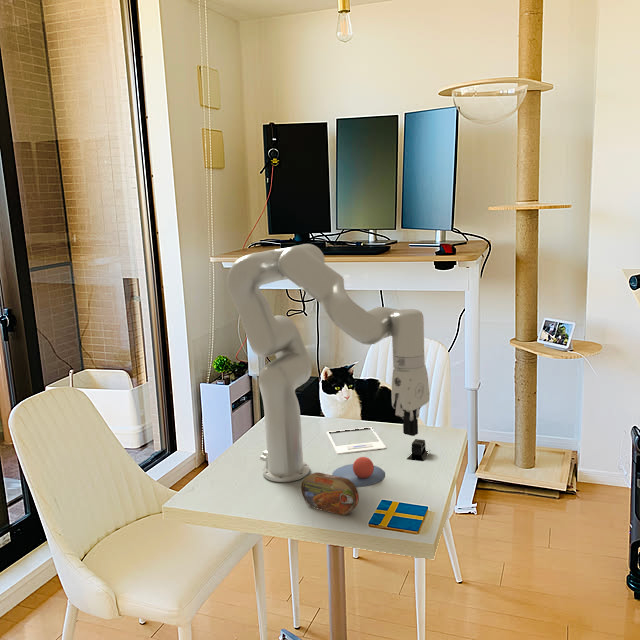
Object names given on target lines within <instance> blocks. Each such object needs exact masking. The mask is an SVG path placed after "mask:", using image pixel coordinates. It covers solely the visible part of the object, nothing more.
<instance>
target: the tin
mask: <svg viewBox="0 0 640 640" xmlns="http://www.w3.org/2000/svg"><path fill="white" fill-rule="evenodd" d="M302 479H303V480H302V482H301V484H300V487H301V488H300V489H301V491H300V492H301V494H302V497H303V500H304V501H305V502H306V503H307V505H309V506H310V507H311V508H313V507H315V508H314V509H316V508H318V509H317V510H320V509H322V510H321V511H324V510H325V512H328V511H329V513H332V514H337V515H339V516H340V515H341V516H345V515H346V516H347V515H349V514H350V513H351V512H352V511H353V510H355V509H356V508H357V506H358V504H359V498H360V497H359V490H358V488H357V487H356V486H355V485H354V484H353V483H352V482H351V481H350V480H348V479H346V478H343V477H338V476H333V475H332V474H328V473H323V472H319V471H318V472H314V473H311V474H307V475H306V476H305V477H303V478H302ZM312 506H313V507H312Z"/></svg>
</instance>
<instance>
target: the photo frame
mask: <svg viewBox="0 0 640 640" xmlns="http://www.w3.org/2000/svg"><path fill="white" fill-rule="evenodd" d="M364 428H368V429H370V431H371V430H372V431H373V430H374V428H373V427H372V426H369V427H358V429H359V430H365V429H364ZM372 428H373V429H372ZM355 429H356V428H348V429H340V430H339V429H338V430H331V431H326V432H325V433H326V435H327V437H328V439H329V441H330V443H331V445H332V446H333V449H334V450H335V453H336V455H337V454H338V455H344V453H346V454H353V452H355V453H362V452H371V450H372V451H379V450H378V449H381V450H385V449H384V448H386V449H387V446H386V445H385V444H384V442H383V441H382V439H381V438H380V437H379V435H378V434H377V432H376V431H375V430H374V431H375V432H374V431H373V432H372V431H371V432H372V434H373V433H374V434H375V435H374V434H373V435H374V437H375V436H376V437H377V438H376V437H375V438H376V440H377V439H378V440H379V441H378V440H377V441H372V442H371V441H369V442H362V443H353V444H352V443H351V444H345V445H336V443H335V442H334V440H333V438H332V435H331V434H330V433H329V432H331V433H337V432H336V431H340V432H346V431H345V430H350V431H356V430H355Z"/></svg>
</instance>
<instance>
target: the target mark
mask: <svg viewBox="0 0 640 640" xmlns="http://www.w3.org/2000/svg"><path fill="white" fill-rule="evenodd" d="M353 464H354V463H350V464H346V465H342V466H340V467H338V468H336V469H335V470H334V471H333V472H332V474H331V475H333V476H338V477H343V478H346V479H348V480H350V481H351V482H352V483H353V484H354V485H355V486H356V488H357V487H359V488H361V487H368V486H373V485H375V484H377V483H379V482H381V481H382V480H384V478H385V470H383V469H382V468H381V467H379V466H377V465H374V471H373V473H372V474H371V476H369V477H368V478H359V477H358V476H356V475H355V473H354V471H353Z"/></svg>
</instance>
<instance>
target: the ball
mask: <svg viewBox="0 0 640 640" xmlns="http://www.w3.org/2000/svg"><path fill="white" fill-rule="evenodd" d="M352 464H353V471H354V473H355V475H356V476H358V477H359V478H368V477H369V476H371V474H372V473H373V471H374V466H375V465H374V463H373V461H372V460H371V459H370V458H368V457H366V456H360V457H358V458H356V459H354V462H353V463H352Z"/></svg>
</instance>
